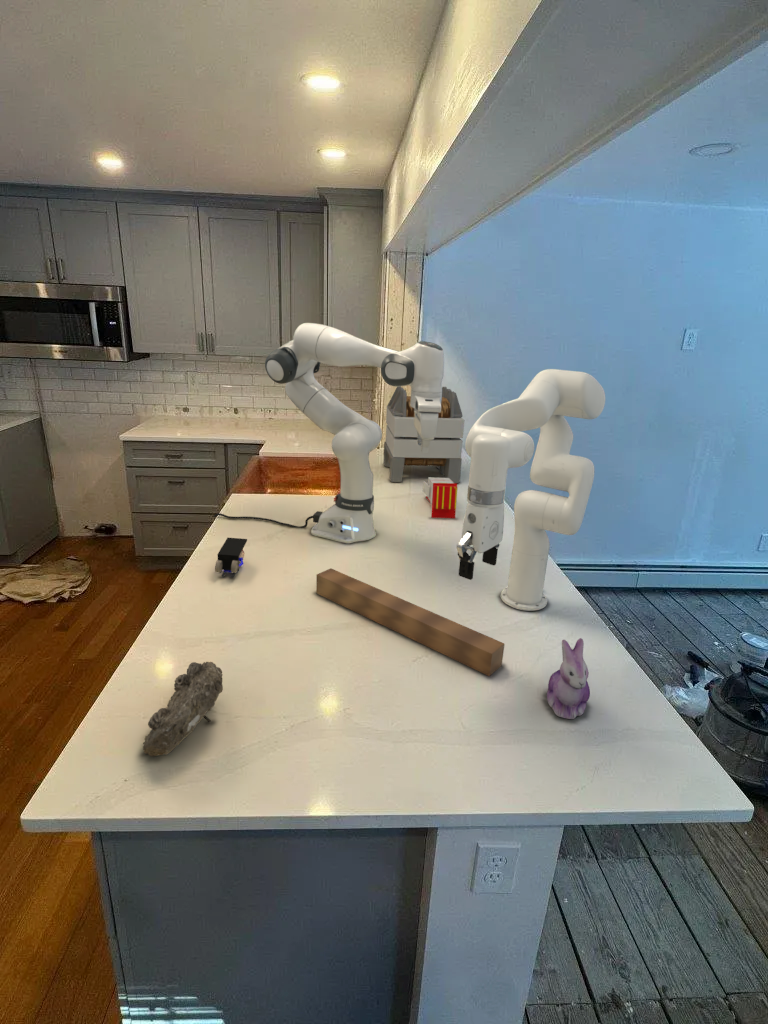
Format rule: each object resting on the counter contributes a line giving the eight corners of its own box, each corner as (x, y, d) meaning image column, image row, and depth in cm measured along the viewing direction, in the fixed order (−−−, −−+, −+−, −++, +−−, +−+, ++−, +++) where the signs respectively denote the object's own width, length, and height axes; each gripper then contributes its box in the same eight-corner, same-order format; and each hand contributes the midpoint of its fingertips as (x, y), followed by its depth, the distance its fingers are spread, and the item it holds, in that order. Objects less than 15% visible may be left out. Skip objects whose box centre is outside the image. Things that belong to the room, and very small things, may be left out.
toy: (450, 473, 241) (461, 484, 212) (448, 504, 244) (459, 519, 214) (421, 472, 240) (429, 483, 211) (420, 503, 243) (427, 518, 214)
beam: (316, 593, 156) (316, 574, 154) (330, 586, 160) (330, 568, 158) (489, 676, 124) (492, 653, 122) (501, 665, 128) (504, 643, 126)
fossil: (172, 663, 116) (224, 630, 111) (205, 693, 119) (256, 663, 114) (117, 750, 97) (177, 715, 92) (158, 783, 100) (218, 752, 95)
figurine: (568, 727, 109) (581, 661, 104) (532, 696, 118) (542, 634, 113) (603, 714, 113) (617, 650, 108) (566, 685, 122) (577, 624, 117)
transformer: (382, 463, 289) (386, 382, 275) (445, 464, 293) (451, 384, 279) (390, 482, 257) (394, 392, 243) (460, 483, 261) (468, 394, 247)
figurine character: (238, 584, 162) (249, 557, 175) (236, 562, 158) (247, 536, 172) (215, 584, 161) (227, 556, 175) (212, 561, 158) (225, 535, 171)
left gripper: (411, 395, 172) (408, 440, 176) (419, 406, 152) (415, 456, 157) (431, 396, 172) (428, 440, 177) (442, 407, 153) (438, 457, 158)
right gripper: (479, 509, 108) (471, 589, 114) (521, 490, 121) (512, 563, 127) (447, 500, 113) (440, 577, 118) (490, 482, 125) (483, 553, 131)
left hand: (422, 448), depth 167 cm, fingers open, 8 cm apart
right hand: (477, 570), depth 123 cm, fingers open, 9 cm apart
